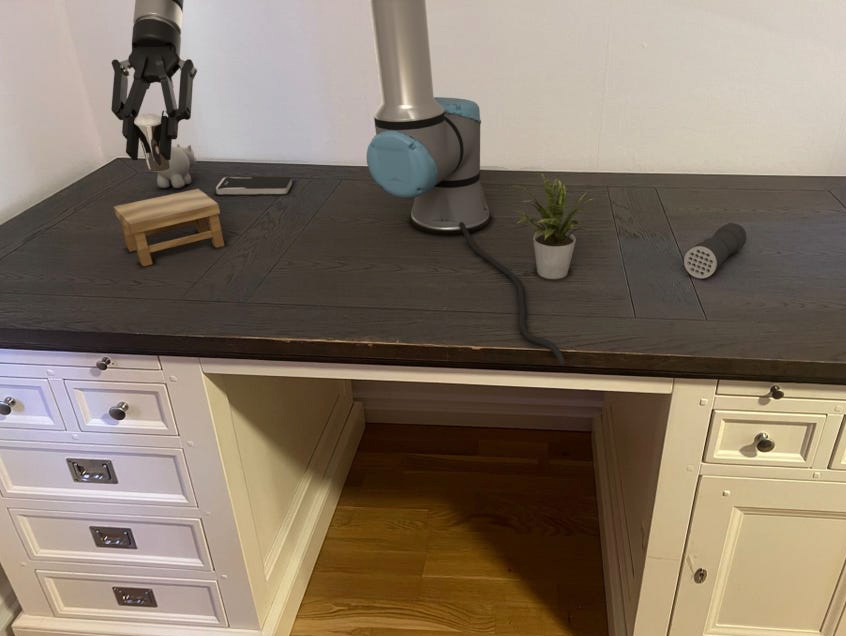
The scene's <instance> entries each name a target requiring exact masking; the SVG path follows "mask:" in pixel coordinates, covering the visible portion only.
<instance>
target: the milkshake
mask: <svg viewBox="0 0 846 636" xmlns="http://www.w3.org/2000/svg"><path fill="white" fill-rule="evenodd" d="M164 113H165V110H162V111H161V115H159V114H157V113H141V114H138V116H137V117H136V119H135V121H134V123H135V126H136V129H137V132H138V135H139V143H140V144H141V148H142V152H143V154H144V158H145V161H146V164H147V167H148V170H149V171H150V172H154V173H158V172H160V171H165V170H168V169H169V168H170V167H169V160H166V159H165V158H164V157H163V156H162V155H161V153H160V152H159V151H160V136H161V121H162V118H163V116H164V115H165V114H164Z"/></svg>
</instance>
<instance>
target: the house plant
mask: <svg viewBox="0 0 846 636" xmlns="http://www.w3.org/2000/svg"><path fill="white" fill-rule="evenodd" d="M540 175H541V178H542V181H543V185H544V192H545V193H544V194H545V197H546V198H545V199H546V200H547V205H548V206H547V205H546V206H545V207H544V206H542V205H541V204H540V203H539V201H538V199H537V198H536V196H535V195H534V194H533V193H532V192H531V191H530V190H529V189H527V188H526V187H523V186H521V185H517V184H516V185H515V184H512V186H513V187H518V188H521V189H520V191H522V192H525V193H528V194H529V195H530V196H531V197H532V198H533V200H534V201H532V200H529V199H528V200H527V199H526V200H522V201H521V203H524V202H525V203H526V202H530V203H529V204H527V206H533V207H534V208H535V209H536V211H538V213H539V215H540V216H541V219H539V220H538V219H537V218H535V217H530V216H529V215H528V214H527V213H526V212H523V211H520V210H513V211H514V212H517V213H520V214H522V215H524V217H522V218H520V219H519V220H518V222H517V223H516V225H518V224H520V223H524V222H528V221H530V222H531V224H533V225H531V226H530V227H531V228H533V227H536V228H534V235H533V237H532V240H533V248H534V249H533V250H534V257H535V265H536V273H537V274H538V276H540V277H541V278H544V279H548V280H559V279H563V278H565V277H566V276H568V273H569V269H570V266H571V261H572V257H573V253H574V250H575V245H576V241H577V238H576V236H575V235H574V234H572V233H574V232H577V231H579V230H581V229H586V230H587V231H590V229H589V228H588V227H587V226H581V225H582V224H581V223H580V222H579V221H577V220H572V218H573V217H574V216H575V215H577V214H578V213H579V212H581V211H585V209H583V208H580V206H578V207H577V208H576V206H577V205H578V204H579V203H580V202H581V201H582V200H583V198H584V196H585V195H586V193H587V192H584V193H583V194H582V195H581V197H579V199H578V200H577V202H575V204H574V205H573V207H572V208H571V209H570V211H569V212H568V214H567V216H566V217H565V219H564V221H562V219H563V217H564V212H565V206H566V202H567V190H566V189H567V188H566V185H565V183H566V182H567V180H565V181H563V182H561V180H560V179H559V178H558V177H556V178H555V179H554V181H553V184H552V188H551V185H550V181H549V179H548V178H547V177H546V176H545V174H544V173H542V172H540ZM557 189H558V191H557ZM557 192H558V194H557ZM593 200H595V198H590V199H587V200H586V201H584V202H583V203H582V205H584V204H586V203H587V202H590V201H593ZM531 202H532V203H531ZM534 221H535V222H534ZM562 222H563V223H562ZM536 223H538V224H540V225H537V224H536ZM543 224H544V225H545V226H544V225H543ZM575 225H580V226H581V227H579V228H576V229H574V230H571V229H572V228H573V227H575ZM569 230H571V231H570V232H568V231H569Z"/></svg>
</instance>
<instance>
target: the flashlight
mask: <svg viewBox="0 0 846 636" xmlns="http://www.w3.org/2000/svg"><path fill="white" fill-rule="evenodd" d="M746 243H747V232H746V230H745V228H744V227H743V226H742V225H741V224H739V223H735V222H727V223H726V224H723V225H722V226H721V227H719V228H718V229H717V230H716V231H715V233H714V234H713V235H712V236H711V237H709V238H706V239H704V240H703V241H701V242H699V243H697V244H695V245H694V246H693V247H692V248H690V249H689V250H688V251H686V254H685V255H684V259H683V263H684V267H685V270H686V271H687V272H688V274H689V275H690V276H692V277H694V278H697V279H706V278H708V277H710V276H712V275H713V274H714V273H715V272H716V271H718V270H719V269H720V267H721V266H722V264H724V263H725V262H726V260H727V258H728V257H729V256H731V255H732V254H736V253H738V252H739V251H740V250H741V249H743V247H744V246H745V244H746Z"/></svg>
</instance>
